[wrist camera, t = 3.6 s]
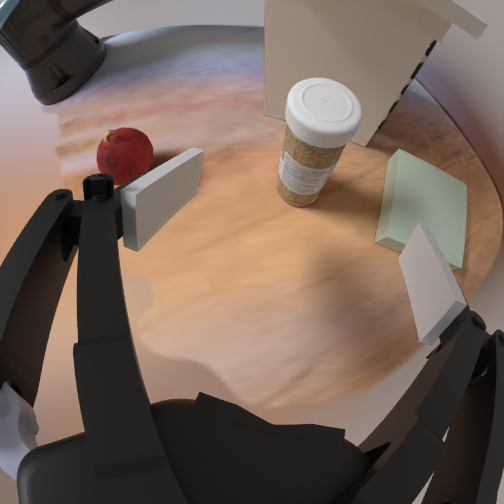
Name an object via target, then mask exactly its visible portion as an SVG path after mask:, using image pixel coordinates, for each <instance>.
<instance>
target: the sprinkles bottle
mask: <svg viewBox="0 0 504 504" xmlns="http://www.w3.org/2000/svg"><path fill="white" fill-rule="evenodd" d="M362 117H363V110H362V106H361V104H360V101H359V100H358V98H357V97H356V95H355V94H354V93H353V92H352V91H351V90H350V89H348V88H347V87H346V86H344V85H342V84H341V83H339V82H336V81H334V80H330V79H326V78H309V79H305V80H302V81H300V82H298V83H297V84H296V85H294V86H293V87H292V89H291V90H290V92H289V94H288V98H287V104H286V112H285V118H286V121H287V125H286V130H285V136H284V142H283V149H282V152H281V158H280V164H279V175H278V178H277V181H276V185H277V190H278V193H279V195H280V196H281V197H282V199H283V200H284V201H286V202H287V203H289V204H291V205H293V206H298V207H300V206H306V205H309V204H311V203H313V202H314V201H315V200H316V199H317V198H318V196H319V194H320V192H321V188H322V187H323V186H324V185H325V183H326V181H327V180H328V178H329V176H330V174H331V173H332V171H333V169H334V167H335V166H336V164H337V162H338V160H339V158H340V156H341V153H342V151H343V149H344V147H345V146H346V144H347V143H348V142H350V141H351V140H352V138H353V137H354V135H355V134H356V132H357V130H358V128H359V126H360V123H361V121H362Z"/></svg>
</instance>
